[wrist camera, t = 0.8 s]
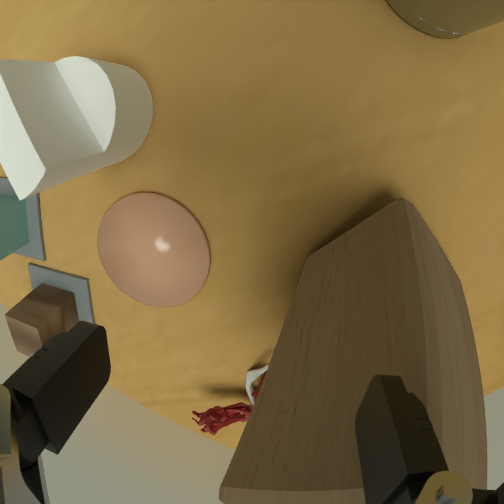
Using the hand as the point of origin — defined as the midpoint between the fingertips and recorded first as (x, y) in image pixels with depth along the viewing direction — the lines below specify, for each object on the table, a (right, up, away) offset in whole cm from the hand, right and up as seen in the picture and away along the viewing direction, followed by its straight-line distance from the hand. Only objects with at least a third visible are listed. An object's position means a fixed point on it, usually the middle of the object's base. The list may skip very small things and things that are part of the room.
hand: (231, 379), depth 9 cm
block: (+11, +2, +16) cm, 20 cm away
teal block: (-26, +7, +20) cm, 34 cm away
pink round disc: (-8, +4, +20) cm, 22 cm away
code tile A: (-21, -2, +24) cm, 32 cm away
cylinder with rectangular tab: (-12, +15, +15) cm, 25 cm away
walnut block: (-21, -3, +24) cm, 32 cm away
